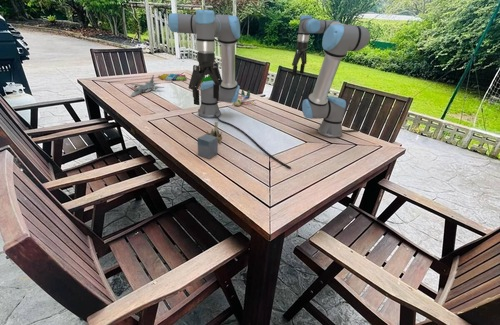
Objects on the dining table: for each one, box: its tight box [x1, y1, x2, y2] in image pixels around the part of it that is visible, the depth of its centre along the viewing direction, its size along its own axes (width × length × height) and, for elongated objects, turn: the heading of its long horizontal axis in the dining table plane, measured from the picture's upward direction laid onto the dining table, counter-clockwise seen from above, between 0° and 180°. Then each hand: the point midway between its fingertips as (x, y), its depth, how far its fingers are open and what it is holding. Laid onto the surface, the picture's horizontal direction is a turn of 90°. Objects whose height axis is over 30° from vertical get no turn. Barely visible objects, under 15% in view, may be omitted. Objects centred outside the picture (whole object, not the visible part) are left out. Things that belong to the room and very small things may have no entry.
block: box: [196, 133, 219, 160], centre depth 132 cm, size 7×7×10 cm
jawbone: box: [206, 121, 223, 144], centre depth 149 cm, size 9×15×10 cm
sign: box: [158, 73, 187, 82], centre depth 282 cm, size 26×2×30 cm
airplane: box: [130, 74, 165, 97], centre depth 228 cm, size 38×32×10 cm
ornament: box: [199, 75, 213, 88], centre depth 252 cm, size 21×8×15 cm, turn 105°
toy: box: [232, 89, 257, 106], centre depth 219 cm, size 28×7×30 cm
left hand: (206, 101), depth 121 cm, fingers open, 13 cm apart
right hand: (297, 74), depth 184 cm, fingers open, 13 cm apart
